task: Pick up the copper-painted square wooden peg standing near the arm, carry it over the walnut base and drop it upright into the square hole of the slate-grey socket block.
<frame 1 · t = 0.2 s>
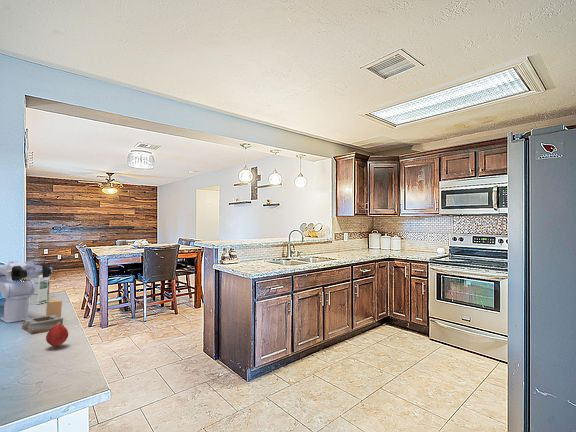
hand: (38, 273, 122), 21 cm above the counter, tool horizontal, fingers open, 7 cm apart
onion: (56, 348, 103), on the counter
socket block: (42, 328, 122), on the counter
peg: (53, 320, 132), on the counter
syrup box: (38, 303, 161), on the counter
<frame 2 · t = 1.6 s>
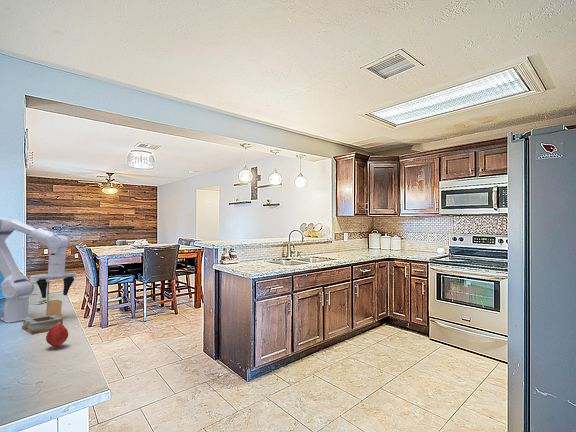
hand: (54, 296, 133), 10 cm above the counter, tool pointing down, fingers open, 7 cm apart
nothing on the counter moved.
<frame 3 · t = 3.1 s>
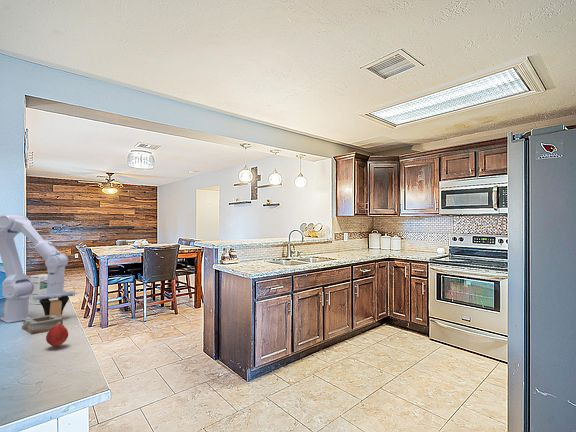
hand: (53, 315, 133), 2 cm above the counter, tool pointing down, fingers closed on peg, 4 cm apart
peg: (53, 320, 132), on the counter, touching gripper
everything else where it was.
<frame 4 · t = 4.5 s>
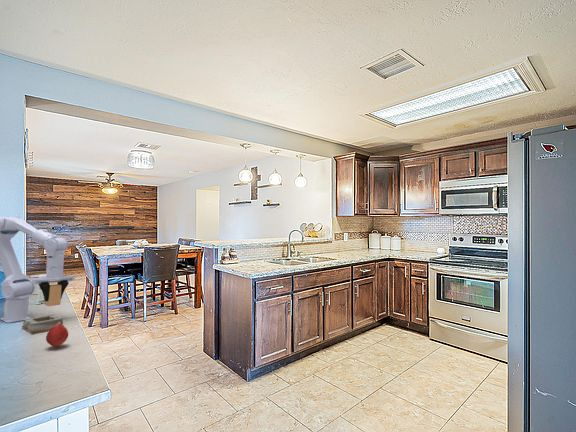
hand: (52, 299, 131), 9 cm above the counter, tool pointing down, fingers closed on peg, 4 cm apart
peg: (52, 304, 131), point 7 cm above the counter, touching gripper
everything else where it was.
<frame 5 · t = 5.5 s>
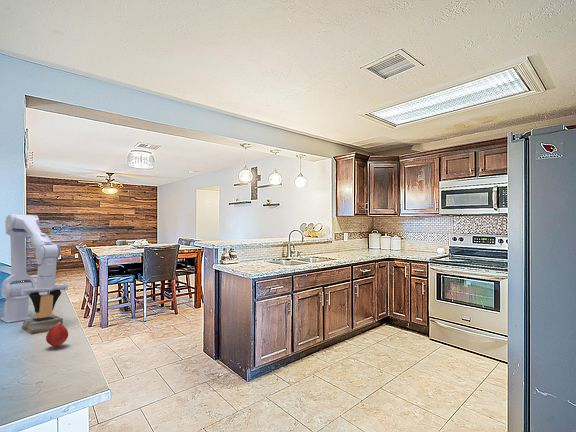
hand: (44, 311, 122), 7 cm above the counter, tool pointing down, fingers closed on peg, 4 cm apart
peg: (43, 316, 122), point 5 cm above the counter, touching gripper
everything else where it was.
when the fingers open (4 cm above the counter, at t = 6.3 s): peg drops 1 cm, resting on socket block.
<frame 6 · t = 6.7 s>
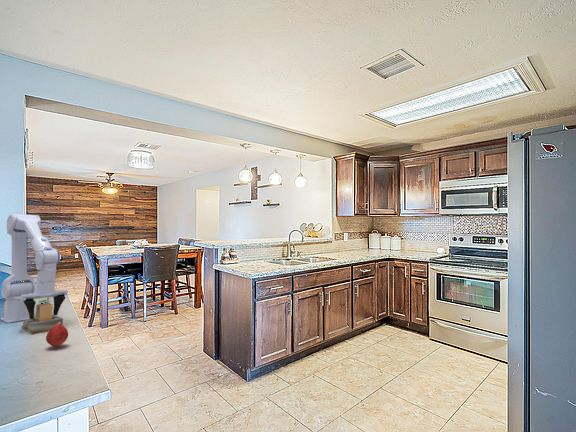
hand: (43, 316, 122), 4 cm above the counter, tool pointing down, fingers open, 7 cm apart
peg: (43, 325, 122), point 1 cm above the counter, touching socket block
everything else where it was.
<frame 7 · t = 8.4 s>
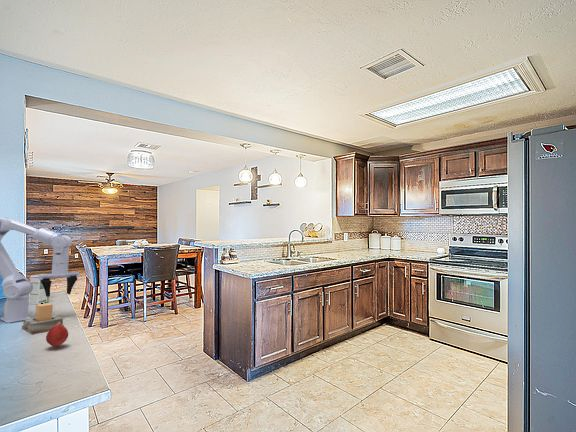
hand: (58, 295, 136), 10 cm above the counter, tool pointing down, fingers open, 7 cm apart
nothing on the counter moved.
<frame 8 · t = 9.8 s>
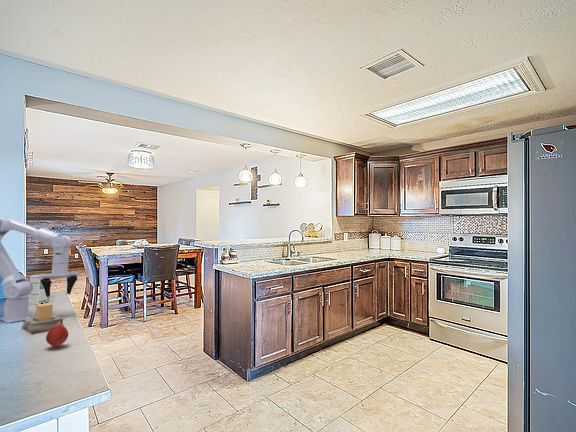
hand: (58, 295, 136), 10 cm above the counter, tool pointing down, fingers open, 7 cm apart
nothing on the counter moved.
at the end: peg 0.0 cm off-centre on the socket block, point 1.0 cm above the socket block's base; peg tilted 0°; the gripper is holding nothing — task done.
